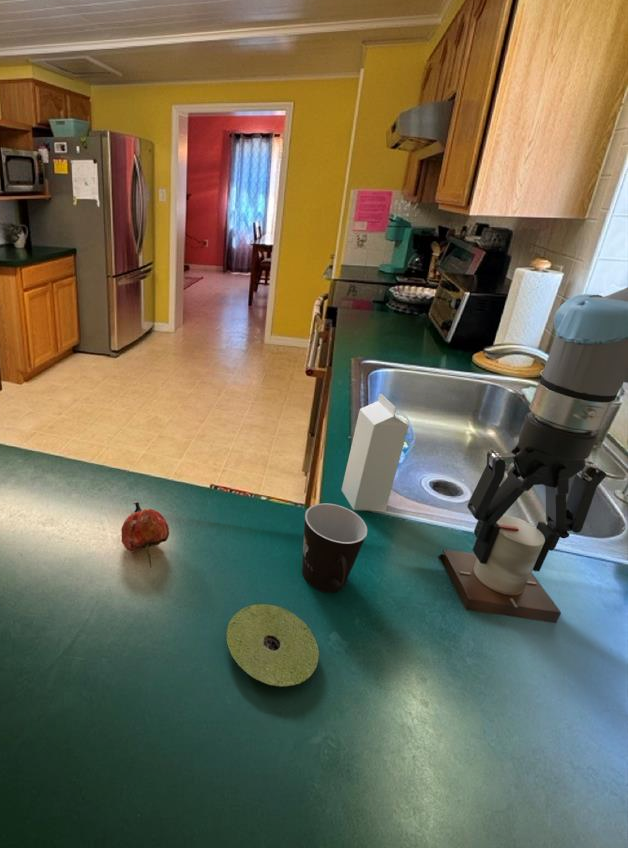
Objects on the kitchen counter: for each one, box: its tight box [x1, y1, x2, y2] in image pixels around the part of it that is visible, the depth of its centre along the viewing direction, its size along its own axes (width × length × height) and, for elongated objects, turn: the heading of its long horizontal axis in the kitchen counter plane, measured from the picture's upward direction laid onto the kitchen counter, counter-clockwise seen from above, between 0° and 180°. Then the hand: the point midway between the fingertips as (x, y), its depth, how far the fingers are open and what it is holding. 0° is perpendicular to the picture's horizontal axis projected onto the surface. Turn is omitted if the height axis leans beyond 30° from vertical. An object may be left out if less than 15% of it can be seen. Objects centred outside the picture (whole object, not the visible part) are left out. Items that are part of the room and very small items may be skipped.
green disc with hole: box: [226, 603, 320, 687], centre depth 58 cm, size 11×11×2 cm
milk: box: [341, 393, 410, 512], centre depth 83 cm, size 6×6×22 cm
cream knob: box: [473, 514, 545, 595], centre depth 68 cm, size 6×6×9 cm
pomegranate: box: [120, 501, 170, 568], centre depth 73 cm, size 7×7×10 cm
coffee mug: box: [301, 502, 368, 593], centre depth 68 cm, size 12×9×10 cm
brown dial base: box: [439, 548, 562, 624], centre depth 70 cm, size 12×11×2 cm
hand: (505, 560), depth 69 cm, fingers closed on cream knob, 6 cm apart
